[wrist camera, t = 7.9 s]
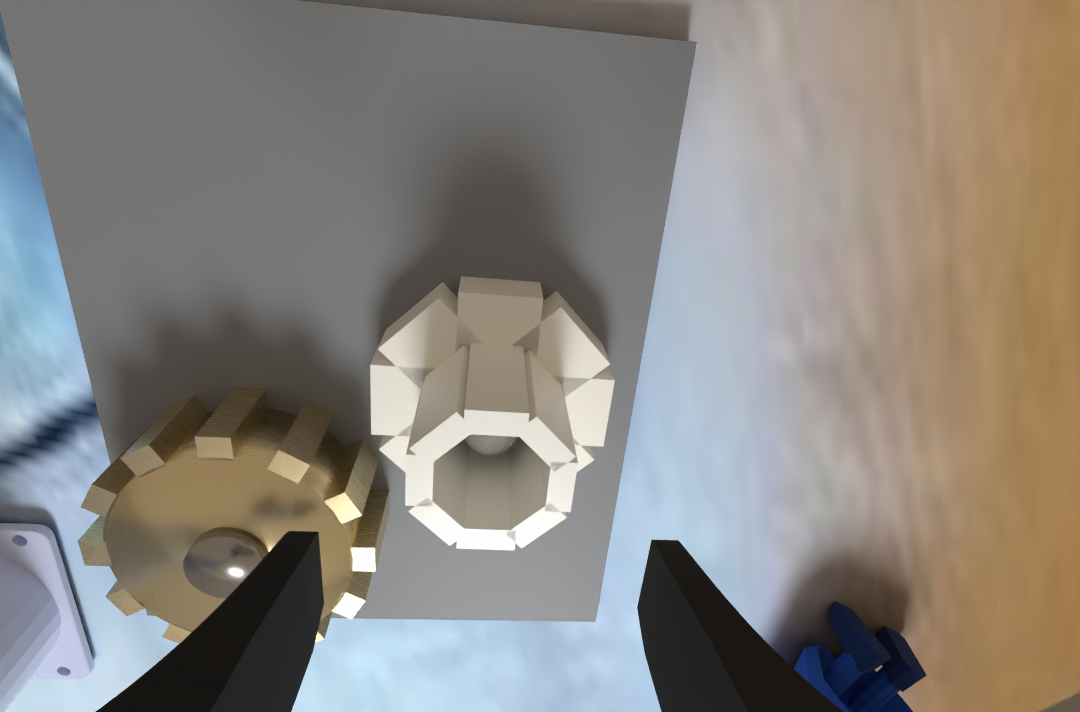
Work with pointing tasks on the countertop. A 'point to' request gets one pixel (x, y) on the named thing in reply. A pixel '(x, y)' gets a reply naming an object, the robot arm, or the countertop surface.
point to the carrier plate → (349, 224)
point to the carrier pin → (490, 443)
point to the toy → (861, 666)
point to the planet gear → (490, 408)
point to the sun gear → (232, 508)
